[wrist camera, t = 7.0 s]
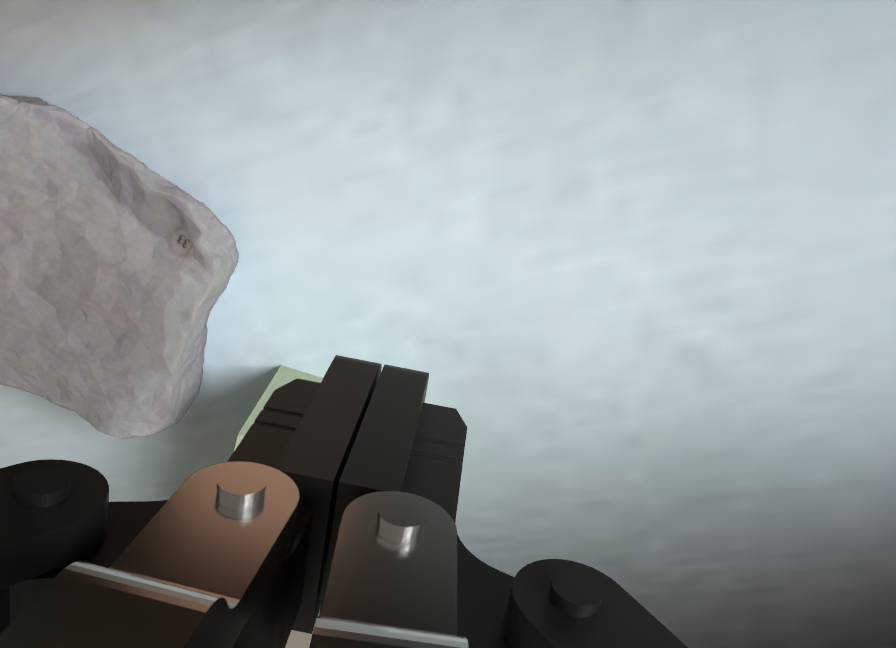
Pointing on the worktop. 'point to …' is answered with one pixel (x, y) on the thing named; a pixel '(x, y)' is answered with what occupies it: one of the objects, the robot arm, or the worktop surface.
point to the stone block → (101, 274)
